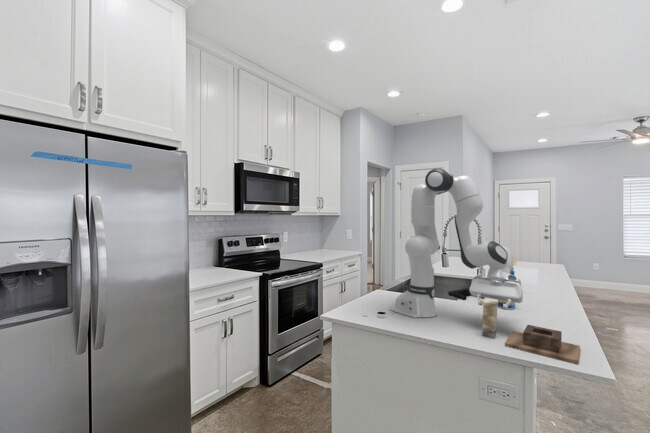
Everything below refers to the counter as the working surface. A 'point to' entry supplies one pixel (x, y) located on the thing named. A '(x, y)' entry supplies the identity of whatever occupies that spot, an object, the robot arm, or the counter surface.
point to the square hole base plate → (544, 343)
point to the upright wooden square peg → (489, 319)
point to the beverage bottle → (501, 302)
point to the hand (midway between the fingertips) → (492, 306)
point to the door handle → (461, 293)
